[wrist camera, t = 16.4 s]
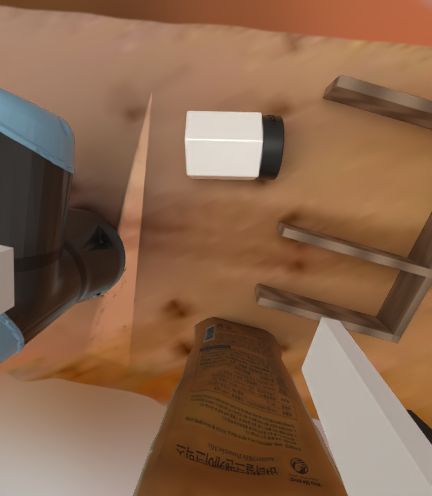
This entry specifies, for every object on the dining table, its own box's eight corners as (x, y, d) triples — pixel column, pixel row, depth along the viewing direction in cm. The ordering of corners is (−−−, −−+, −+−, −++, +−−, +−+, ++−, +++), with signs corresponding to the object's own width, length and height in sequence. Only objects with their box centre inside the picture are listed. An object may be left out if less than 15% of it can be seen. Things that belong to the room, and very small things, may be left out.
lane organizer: (255, 289, 44) (257, 303, 39) (326, 88, 35) (340, 74, 30) (379, 325, 44) (397, 343, 39) (482, 133, 35) (522, 127, 30)
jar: (192, 125, 38) (271, 127, 38) (191, 180, 39) (268, 182, 39) (184, 101, 29) (287, 104, 29) (184, 174, 31) (283, 176, 31)
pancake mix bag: (192, 302, 46) (132, 487, 19) (295, 329, 46) (382, 552, 19) (184, 333, 47) (119, 541, 21) (283, 359, 47) (347, 600, 21)
